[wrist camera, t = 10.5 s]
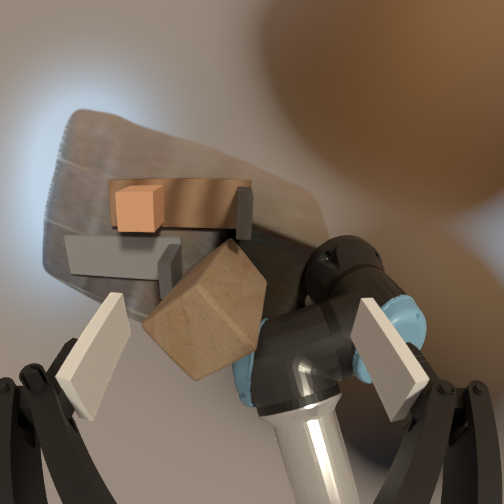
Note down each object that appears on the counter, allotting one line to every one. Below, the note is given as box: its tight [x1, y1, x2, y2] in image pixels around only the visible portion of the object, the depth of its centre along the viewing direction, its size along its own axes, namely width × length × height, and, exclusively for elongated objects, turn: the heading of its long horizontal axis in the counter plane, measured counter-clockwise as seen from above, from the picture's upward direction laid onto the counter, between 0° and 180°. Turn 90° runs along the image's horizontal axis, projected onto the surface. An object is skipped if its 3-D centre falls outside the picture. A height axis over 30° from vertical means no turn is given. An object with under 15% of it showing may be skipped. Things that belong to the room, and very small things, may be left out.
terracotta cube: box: [115, 185, 164, 232], centre depth 41 cm, size 6×6×6 cm
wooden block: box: [142, 238, 267, 381], centre depth 40 cm, size 10×10×20 cm
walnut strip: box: [109, 178, 253, 240], centre depth 41 cm, size 24×8×9 cm, turn 87°
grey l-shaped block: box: [64, 234, 183, 299], centre depth 44 cm, size 24×8×9 cm, turn 87°
